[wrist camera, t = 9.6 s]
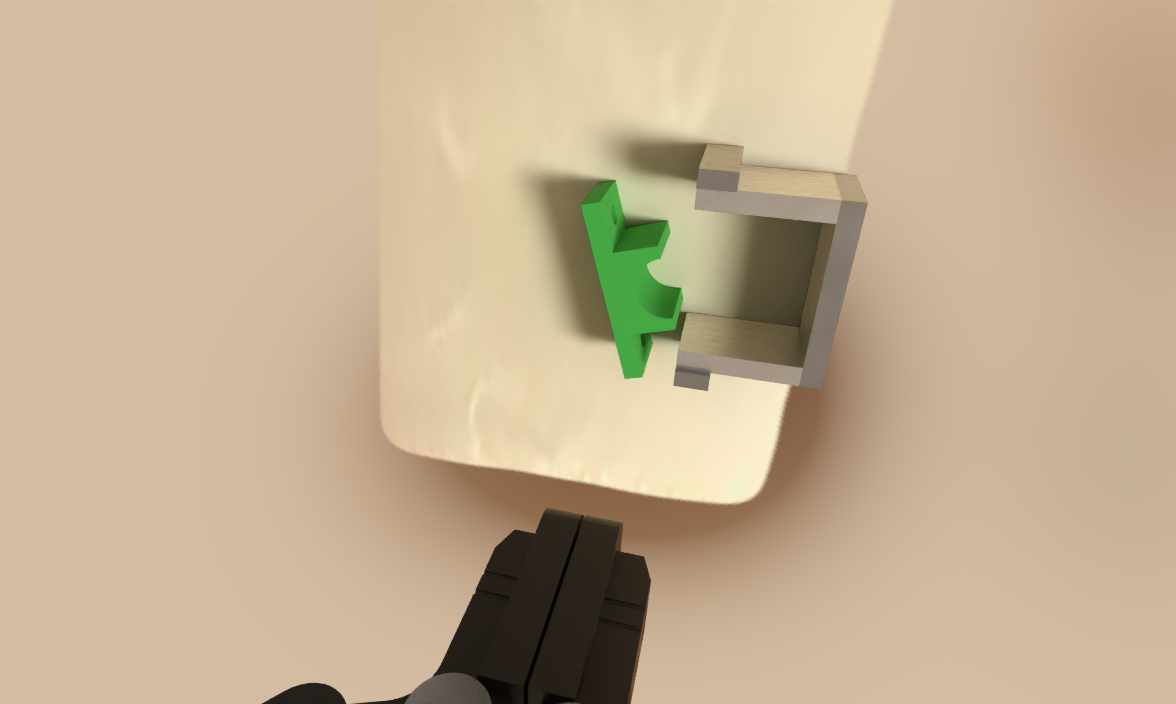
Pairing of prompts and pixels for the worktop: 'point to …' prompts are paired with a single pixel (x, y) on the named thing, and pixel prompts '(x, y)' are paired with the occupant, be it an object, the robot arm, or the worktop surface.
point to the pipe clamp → (629, 276)
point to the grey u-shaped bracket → (808, 347)
